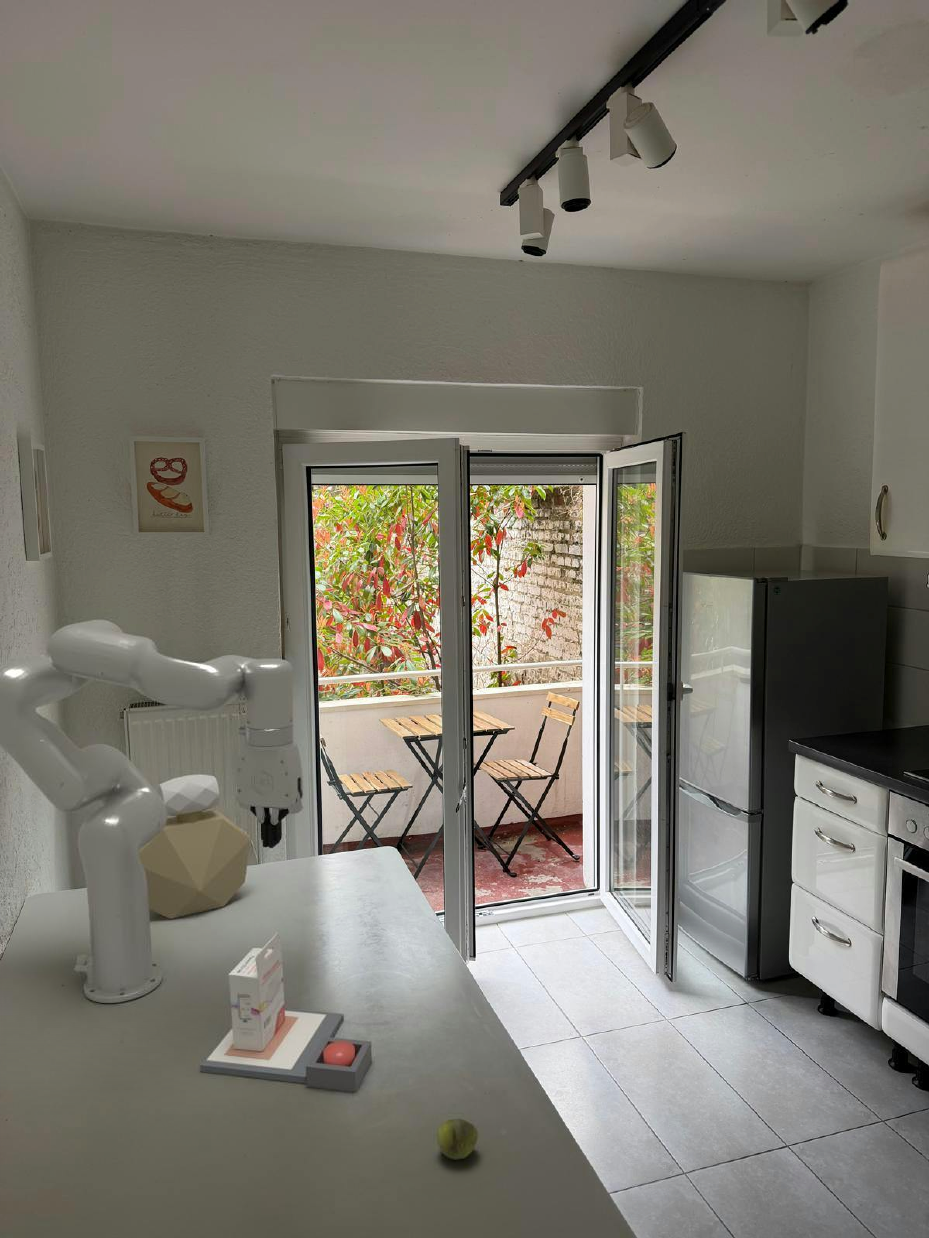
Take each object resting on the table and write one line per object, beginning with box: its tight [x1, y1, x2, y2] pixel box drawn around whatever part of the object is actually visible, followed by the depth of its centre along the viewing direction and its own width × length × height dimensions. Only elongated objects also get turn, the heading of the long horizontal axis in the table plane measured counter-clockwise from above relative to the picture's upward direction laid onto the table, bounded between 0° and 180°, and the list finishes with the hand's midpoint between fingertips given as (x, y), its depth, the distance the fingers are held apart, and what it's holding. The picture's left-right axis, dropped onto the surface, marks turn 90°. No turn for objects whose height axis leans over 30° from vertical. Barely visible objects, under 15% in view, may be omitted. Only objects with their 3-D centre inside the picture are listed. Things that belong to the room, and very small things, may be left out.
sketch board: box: [199, 1007, 345, 1085], centre depth 131 cm, size 16×16×1 cm
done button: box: [323, 1041, 355, 1067], centre depth 124 cm, size 4×4×3 cm
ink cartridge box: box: [228, 932, 286, 1051], centre depth 131 cm, size 9×5×15 cm, turn 168°
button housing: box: [306, 1037, 373, 1093], centre depth 124 cm, size 7×7×3 cm
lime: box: [436, 1118, 479, 1160], centre depth 107 cm, size 4×5×5 cm
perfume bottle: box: [139, 773, 252, 920], centre depth 178 cm, size 12×24×28 cm, turn 121°
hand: (271, 844), depth 143 cm, fingers closed
